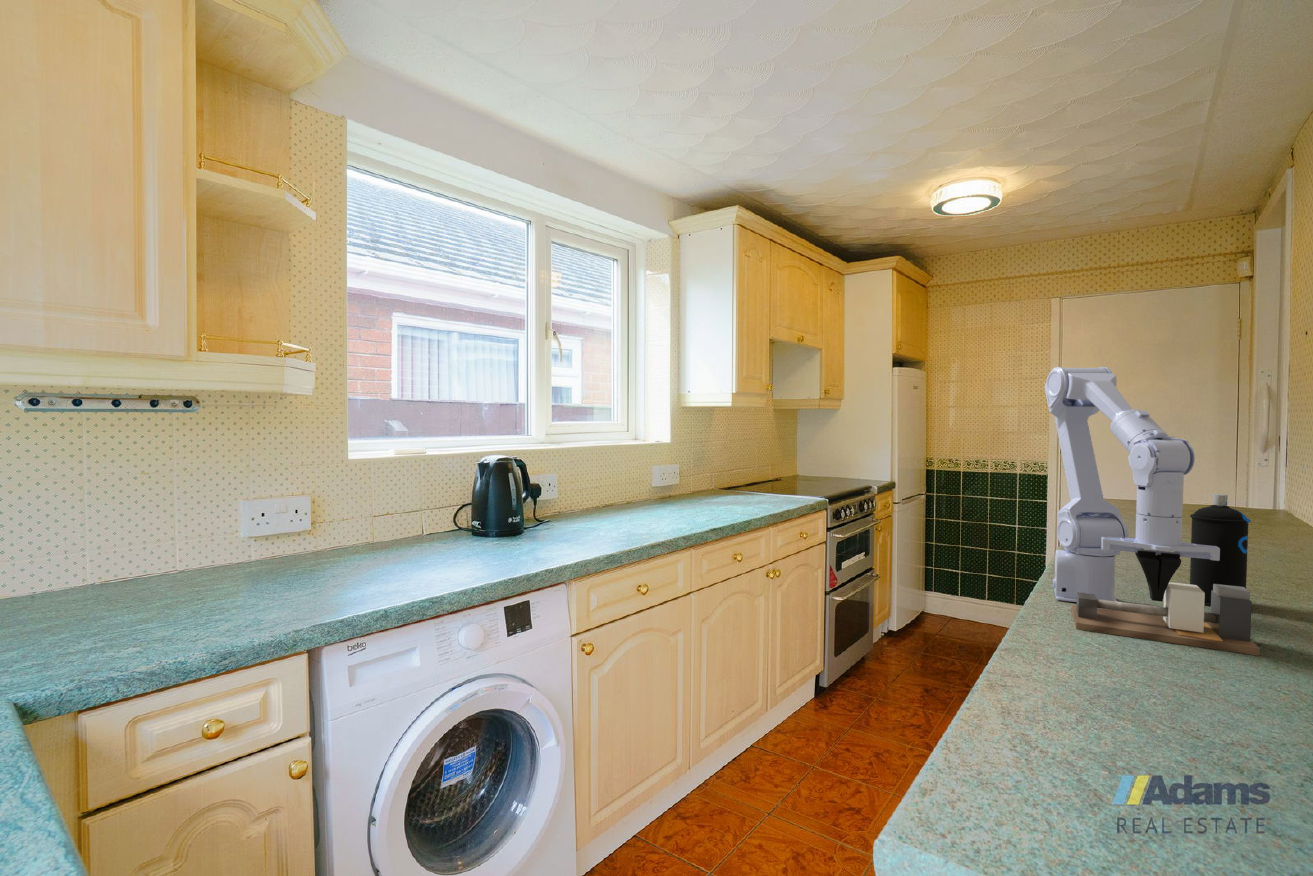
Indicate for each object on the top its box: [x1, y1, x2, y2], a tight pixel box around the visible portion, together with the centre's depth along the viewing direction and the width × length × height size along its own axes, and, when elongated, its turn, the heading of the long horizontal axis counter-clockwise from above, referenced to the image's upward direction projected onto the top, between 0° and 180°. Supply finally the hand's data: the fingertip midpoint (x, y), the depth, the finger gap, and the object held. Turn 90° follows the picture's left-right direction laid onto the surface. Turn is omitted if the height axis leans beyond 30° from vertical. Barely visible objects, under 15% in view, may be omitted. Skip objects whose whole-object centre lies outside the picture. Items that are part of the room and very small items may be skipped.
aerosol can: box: [1189, 493, 1251, 607], centre depth 114 cm, size 8×8×20 cm
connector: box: [1209, 584, 1253, 642], centre depth 94 cm, size 4×5×7 cm
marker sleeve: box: [1162, 581, 1205, 633], centre depth 97 cm, size 4×5×6 cm
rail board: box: [1070, 592, 1261, 656], centre depth 99 cm, size 22×11×4 cm, turn 60°
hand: (1156, 599), depth 99 cm, fingers closed
